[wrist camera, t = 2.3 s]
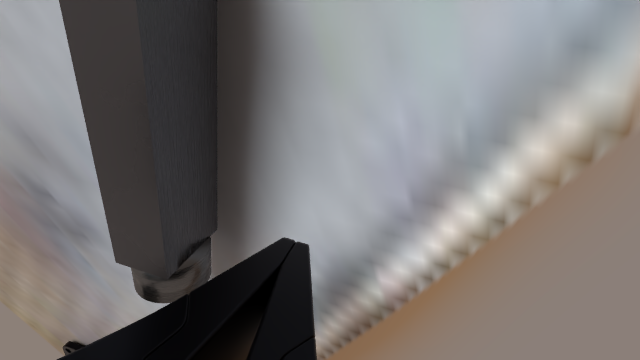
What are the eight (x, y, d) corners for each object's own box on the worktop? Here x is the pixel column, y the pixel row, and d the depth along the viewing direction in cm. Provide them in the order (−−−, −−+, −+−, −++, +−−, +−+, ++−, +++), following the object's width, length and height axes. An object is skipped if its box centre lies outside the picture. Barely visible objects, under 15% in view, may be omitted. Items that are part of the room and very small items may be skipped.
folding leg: (146, -180, 8) (-121, -420, 4) (244, -171, 7) (61, -432, 3) (178, 235, 14) (93, 308, 10) (231, 251, 13) (164, 335, 10)
